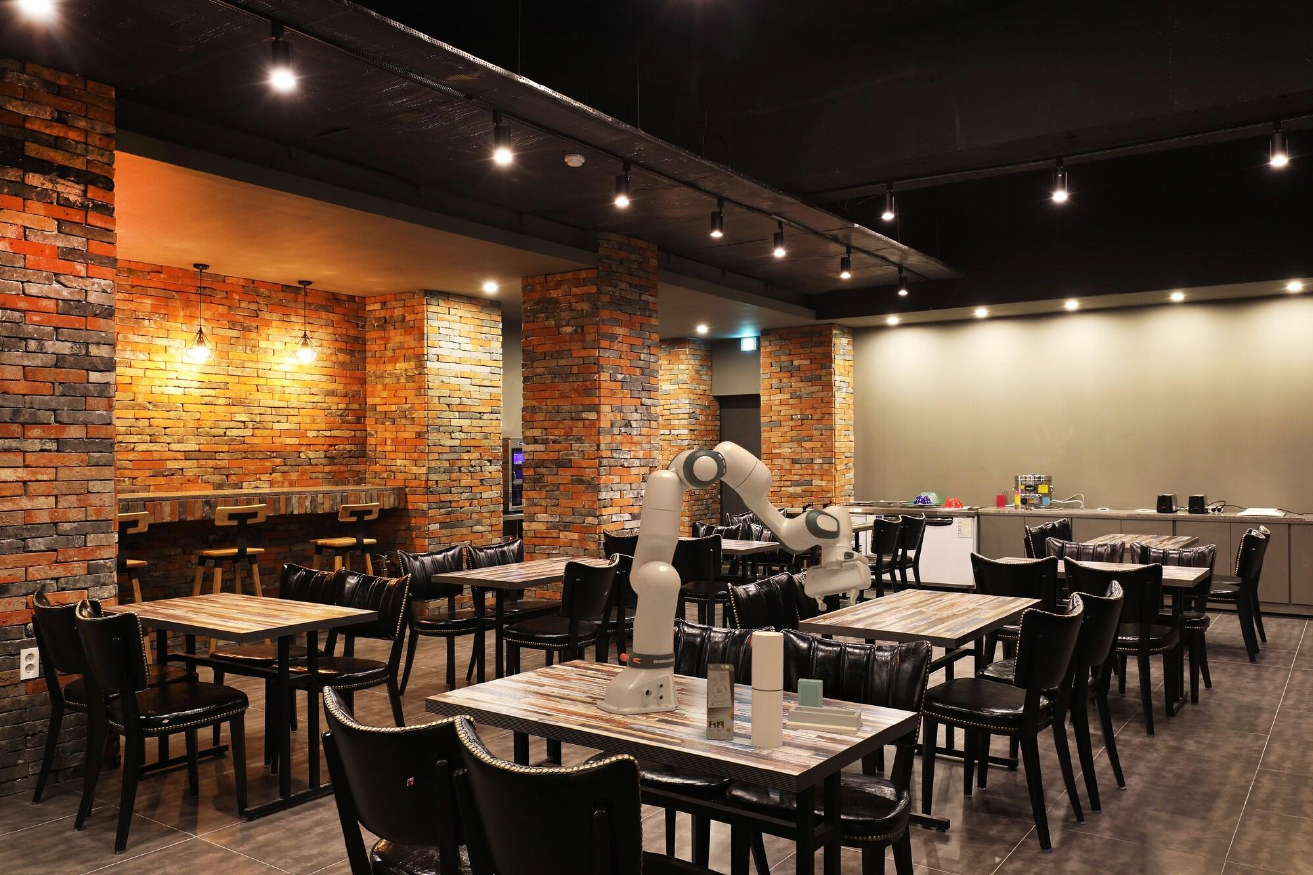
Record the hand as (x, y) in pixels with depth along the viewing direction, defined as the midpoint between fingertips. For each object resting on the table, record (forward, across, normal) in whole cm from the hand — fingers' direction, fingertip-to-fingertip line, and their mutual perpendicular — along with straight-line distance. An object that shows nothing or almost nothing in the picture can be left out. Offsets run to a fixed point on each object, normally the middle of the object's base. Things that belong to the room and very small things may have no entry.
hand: (837, 607), depth 265 cm
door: (+30, -4, -6) cm, 31 cm away
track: (+36, +6, -14) cm, 39 cm away
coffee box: (+43, -6, -40) cm, 59 cm away
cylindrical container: (+45, +6, -38) cm, 59 cm away
